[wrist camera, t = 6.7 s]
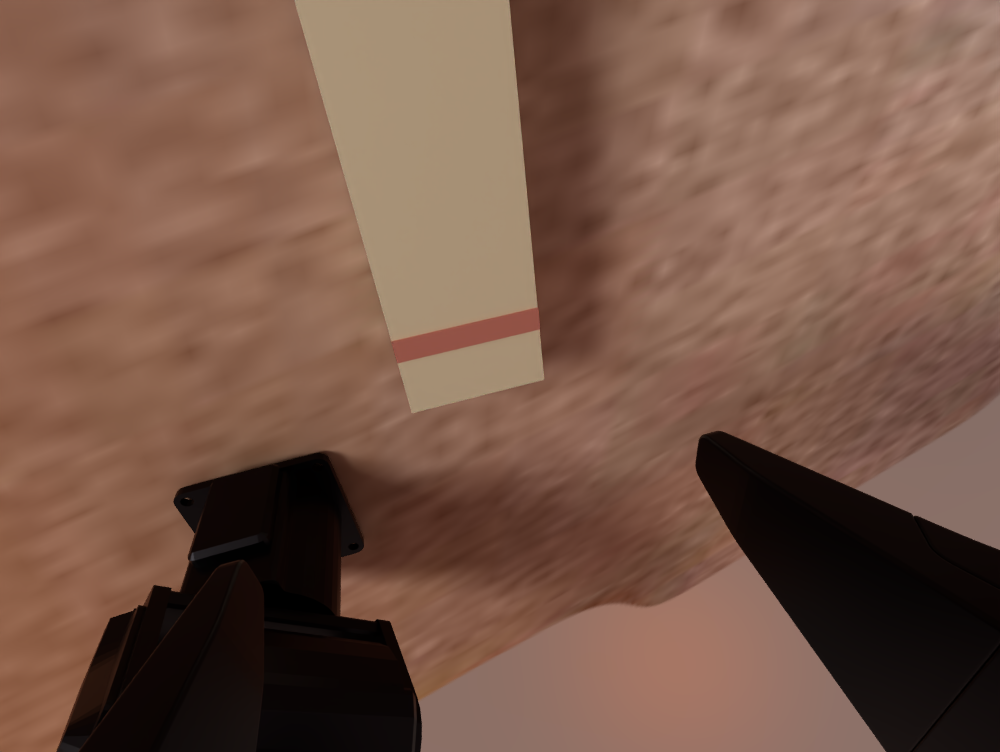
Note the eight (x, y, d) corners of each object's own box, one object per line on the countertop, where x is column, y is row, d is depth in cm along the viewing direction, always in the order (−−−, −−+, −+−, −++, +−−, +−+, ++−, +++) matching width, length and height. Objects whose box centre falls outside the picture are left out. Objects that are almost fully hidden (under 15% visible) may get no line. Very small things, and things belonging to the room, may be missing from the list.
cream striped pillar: (518, 337, 22) (545, 381, 19) (403, 364, 21) (412, 414, 18) (464, -104, 14) (496, -149, 11) (278, -84, 13) (258, -126, 10)
